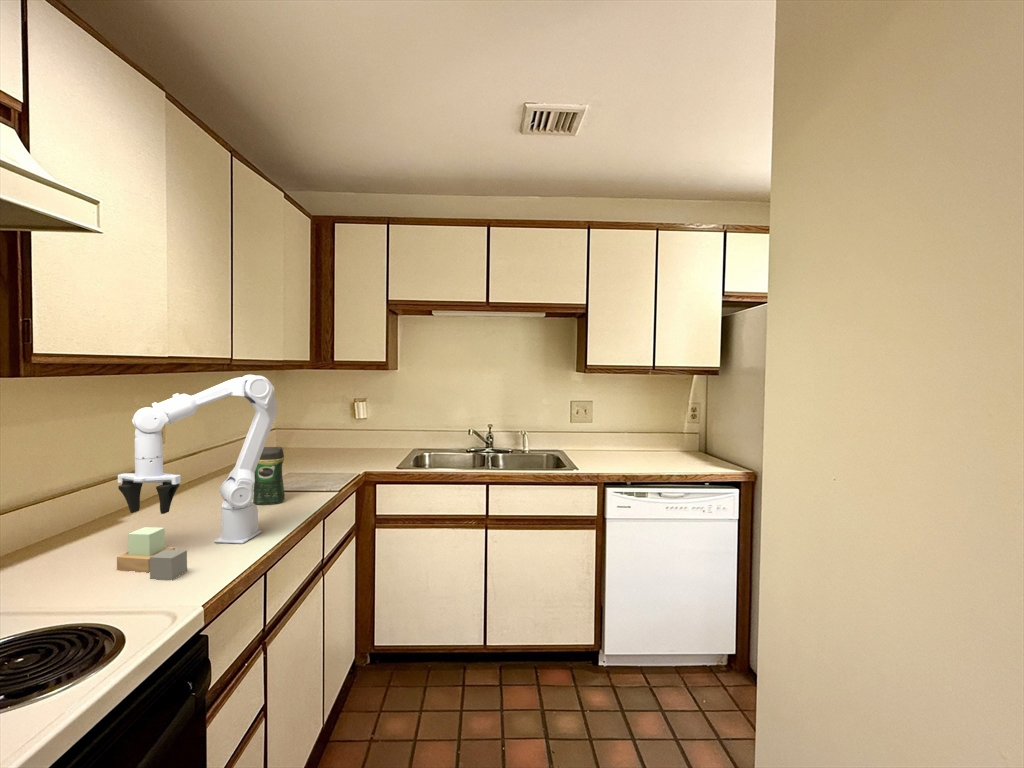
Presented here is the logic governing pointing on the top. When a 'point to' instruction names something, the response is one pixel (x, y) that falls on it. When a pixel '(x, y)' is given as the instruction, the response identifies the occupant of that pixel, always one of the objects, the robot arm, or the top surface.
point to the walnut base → (135, 562)
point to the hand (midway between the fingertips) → (149, 512)
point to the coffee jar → (269, 477)
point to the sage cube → (146, 541)
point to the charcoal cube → (168, 564)
